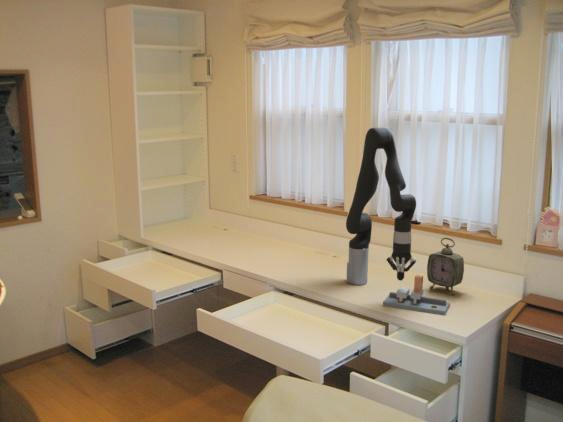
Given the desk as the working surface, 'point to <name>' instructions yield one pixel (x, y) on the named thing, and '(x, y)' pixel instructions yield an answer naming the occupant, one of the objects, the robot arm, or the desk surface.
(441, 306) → the hole plate with beam
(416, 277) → the sliding leg
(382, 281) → the desk surface
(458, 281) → the tabletop clock
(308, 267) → the desk surface
